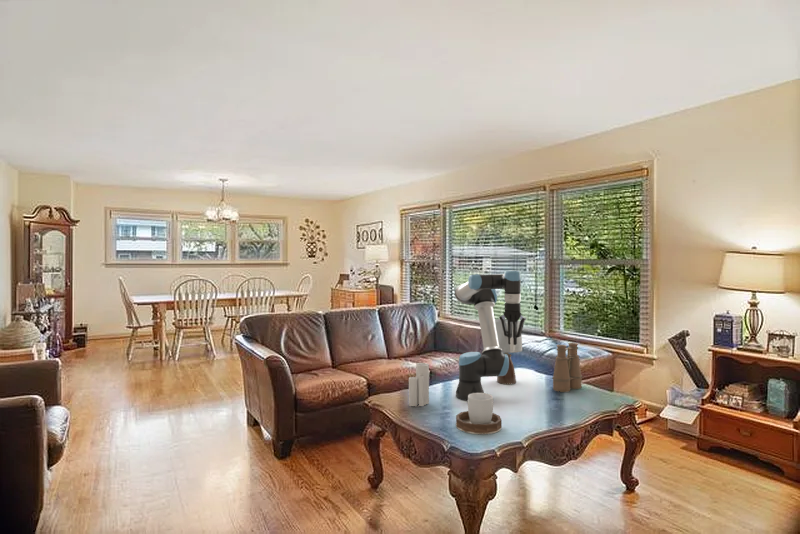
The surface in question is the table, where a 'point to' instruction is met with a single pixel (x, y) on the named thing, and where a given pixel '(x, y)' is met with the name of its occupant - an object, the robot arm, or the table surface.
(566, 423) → the table surface
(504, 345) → the lamp
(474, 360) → the robot arm
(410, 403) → the vase
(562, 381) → the binoculars
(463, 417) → the holder
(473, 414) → the mug
